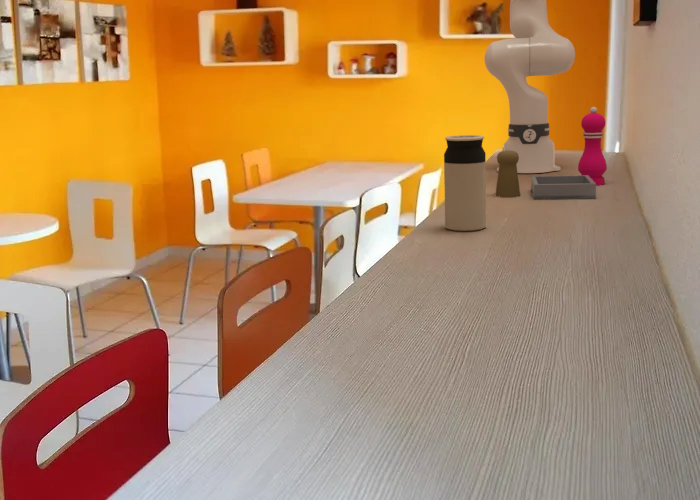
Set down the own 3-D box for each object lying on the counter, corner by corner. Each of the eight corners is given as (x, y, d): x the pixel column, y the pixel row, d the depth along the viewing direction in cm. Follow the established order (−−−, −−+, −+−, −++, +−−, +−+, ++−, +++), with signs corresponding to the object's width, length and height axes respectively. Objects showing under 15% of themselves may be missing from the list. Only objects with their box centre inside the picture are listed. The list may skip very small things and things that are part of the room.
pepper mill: (603, 181, 216) (605, 105, 212) (608, 185, 209) (611, 106, 205) (575, 182, 217) (576, 106, 213) (580, 186, 210) (581, 107, 206)
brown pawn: (520, 197, 196) (520, 151, 194) (494, 197, 197) (494, 152, 195) (520, 193, 202) (520, 149, 199) (495, 193, 203) (495, 149, 201)
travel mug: (488, 231, 157) (488, 137, 153) (447, 232, 157) (445, 138, 153) (482, 223, 164) (482, 134, 160) (443, 225, 165) (442, 135, 161)
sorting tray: (531, 189, 207) (531, 176, 206) (587, 189, 205) (588, 175, 204) (534, 199, 192) (534, 184, 191) (595, 198, 189) (596, 183, 188)
